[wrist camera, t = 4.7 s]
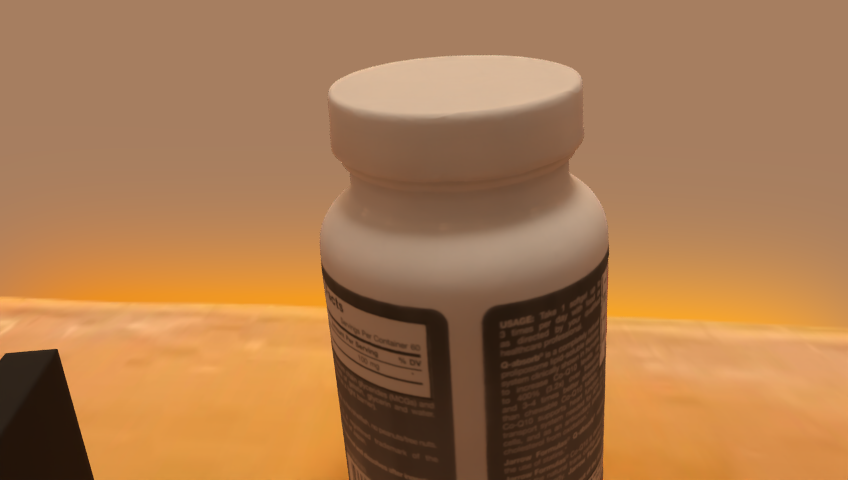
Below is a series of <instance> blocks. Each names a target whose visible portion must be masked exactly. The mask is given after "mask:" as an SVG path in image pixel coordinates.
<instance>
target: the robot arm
mask: <svg viewBox="0 0 848 480" xmlns="http://www.w3.org/2000/svg"><path fill="white" fill-rule="evenodd" d="M0 480H94V478H93V474H92V471H91V467H90V464H89V460H88V456H87V453H86V449H85V446H84V442H83V439H82V435H81V431H80V428H79V424H78V421H77V417H76V414H75V410H74V406H73V403H72V399H71V396H70V392H69V389H68V385H67V381H66V378H65V374H64V371H63V367H62V364H61V360H60V356H59V353H58V349H51V350H39V351H28V352H16V353H6V354H5V355H4V356H3V357H2V359H1V360H0Z"/></svg>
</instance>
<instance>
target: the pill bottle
mask: <svg viewBox="0 0 848 480" xmlns="http://www.w3.org/2000/svg"><path fill="white" fill-rule="evenodd" d="M328 108H329V119H330V139H331V148H332V152H333V154H334V155H335V157H336V158H337V159H338V160H340V161H341V162H342V164H343V166H344V167H345V169H346V170H347V171H349V172H350V181H351V185H350V186H349V187H347V188H346V189H345V190H344V191H343V192H342V193H341V194H340V195H339V196H338V197H337V198H336V199H335V201H334V202H333V204H332V205H331V206H330V208H329V210H328V211H327V214H326V216H325V218H324V221H323V223H322V228H321V233H320V254H321V264H322V274H323V281H324V289H325V296H326V303H327V311H328V319H329V327H330V334H331V343H332V350H333V358H334V365H335V373H336V381H337V388H338V396H339V404H340V411H341V420H342V427H343V435H344V443H345V451H346V458H347V466H348V474H349V480H603V436H604V402H605V359H606V332H607V289H608V256H609V242H608V225H607V220H606V215H605V212H604V209H603V207H602V206H601V203H600V202H599V200H598V198H597V197H596V195H595V194H594V193H593V192H592V190H591V189H590V188H589V187H588V186H587V185H586V184H585V183H583V182H582V181H581V180H580V179H578V178H576V177H575V176H573V175H572V174H571V173H569V159H570V158H571V157H572V156H573V154H574V153H575V150H576V149H577V148H578V147H579V145H580V144H581V143H582V141H583V138H584V129H583V85H582V78H581V77H580V74H579V73H578V72H576V70H574V69H572V68H571V67H568V66H565V65H563V64H559V63H555V62H551V61H546V60H541V59H534V58H526V57H518V56H499V55H485V56H484V55H472V56H470V55H469V56H442V57H431V58H420V59H412V60H405V61H399V62H392V63H388V64H383V65H378V66H374V67H370V68H367V69H363V70H360V71H357V72H354V73H351V74H349V75H347V76H345V77H343V78H341V79H339V80H337V81H336V82H335V83H334V84H333V85H332V86H331V87H330V89H329V91H328Z"/></svg>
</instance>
